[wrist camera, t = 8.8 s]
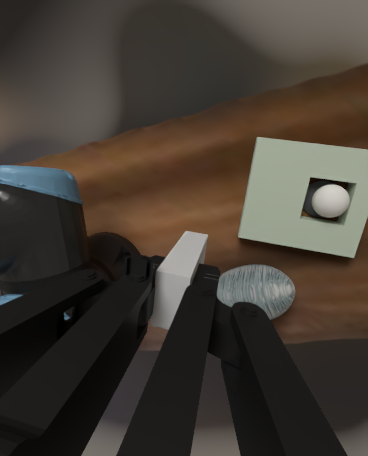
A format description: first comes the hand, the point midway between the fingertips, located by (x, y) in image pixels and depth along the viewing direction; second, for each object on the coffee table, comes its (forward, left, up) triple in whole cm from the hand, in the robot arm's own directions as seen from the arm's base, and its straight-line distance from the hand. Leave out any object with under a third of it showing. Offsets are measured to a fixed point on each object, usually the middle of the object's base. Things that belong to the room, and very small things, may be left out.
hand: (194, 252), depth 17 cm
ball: (+16, +2, -27) cm, 31 cm away
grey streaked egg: (+8, -15, -30) cm, 34 cm away
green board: (+13, +2, -29) cm, 32 cm away
